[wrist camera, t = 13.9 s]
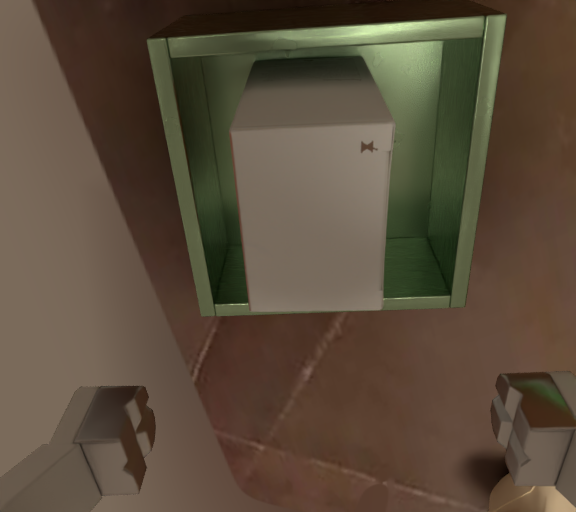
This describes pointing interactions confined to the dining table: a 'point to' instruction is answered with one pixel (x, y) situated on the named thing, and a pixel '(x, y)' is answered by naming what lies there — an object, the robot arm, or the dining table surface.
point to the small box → (312, 184)
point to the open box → (400, 101)
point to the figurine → (527, 498)
